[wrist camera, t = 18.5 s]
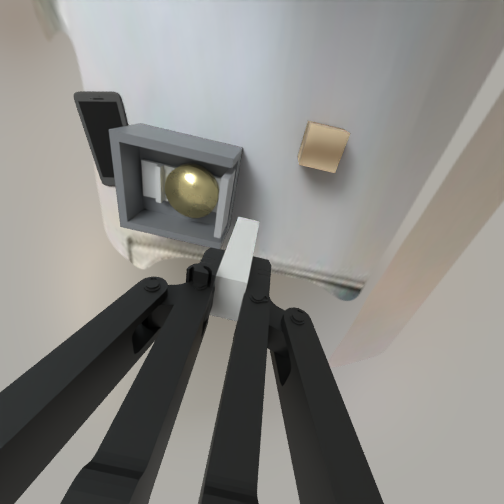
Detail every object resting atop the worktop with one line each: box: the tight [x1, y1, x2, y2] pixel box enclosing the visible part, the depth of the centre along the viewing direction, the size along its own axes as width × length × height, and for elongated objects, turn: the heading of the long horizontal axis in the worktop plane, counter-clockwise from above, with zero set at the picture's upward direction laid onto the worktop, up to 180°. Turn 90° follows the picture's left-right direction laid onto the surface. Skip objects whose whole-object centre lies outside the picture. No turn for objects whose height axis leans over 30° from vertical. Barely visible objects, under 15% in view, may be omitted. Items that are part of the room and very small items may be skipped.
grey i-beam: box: [141, 159, 236, 238], centre depth 36 cm, size 9×14×5 cm, turn 79°
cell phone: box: [74, 92, 128, 186], centre depth 39 cm, size 7×14×1 cm, turn 0°
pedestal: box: [298, 121, 350, 173], centre depth 33 cm, size 5×5×5 cm
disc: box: [165, 163, 219, 218], centre depth 37 cm, size 8×8×2 cm
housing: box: [109, 123, 243, 249], centre depth 37 cm, size 14×16×8 cm
